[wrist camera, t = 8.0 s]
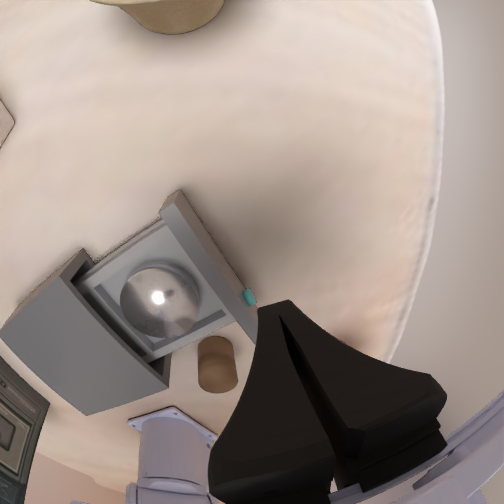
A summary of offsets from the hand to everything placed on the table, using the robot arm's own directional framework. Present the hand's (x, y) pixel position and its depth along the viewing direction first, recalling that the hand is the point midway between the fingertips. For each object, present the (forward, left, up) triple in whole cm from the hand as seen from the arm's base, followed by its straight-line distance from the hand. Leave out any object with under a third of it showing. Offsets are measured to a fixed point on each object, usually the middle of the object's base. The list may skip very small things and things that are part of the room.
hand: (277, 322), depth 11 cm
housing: (0, +18, -10) cm, 20 cm away
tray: (0, +8, -9) cm, 12 cm away
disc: (0, +7, -9) cm, 11 cm away
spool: (-8, +8, -10) cm, 15 cm away
